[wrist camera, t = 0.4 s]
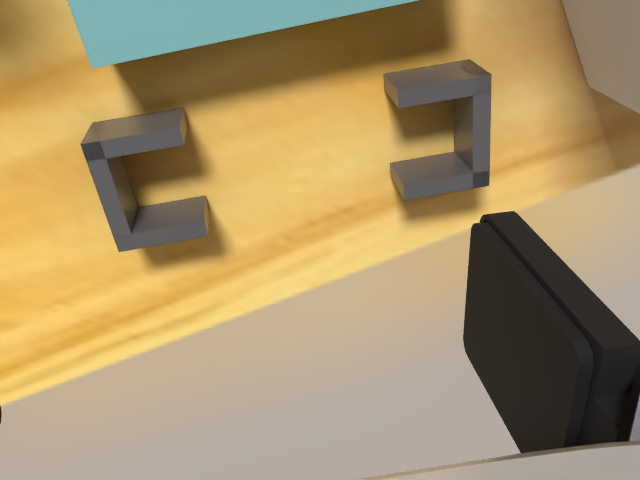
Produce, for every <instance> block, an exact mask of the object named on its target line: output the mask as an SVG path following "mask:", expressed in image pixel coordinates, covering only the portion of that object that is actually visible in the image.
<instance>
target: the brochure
mask: <svg viewBox="0 0 640 480" xmlns="http://www.w3.org/2000/svg"><path fill="white" fill-rule="evenodd" d="M561 1H562V4H563V7H564V10H565V13H566V17H567V20H568V23H569V26H570V29H571V33H572V36H573V39H574V42H575V45H576V48H577V52H578V55H579V58H580V61H581V64H582V68H583V71H584V74H585V77H586V80H587V84H588V86H589V87H591V88H593V89H594V90H596V91H598V92H600V93H602V94H604V95H605V96H607V97H609V98H611V99H613V100H615V101H616V102H618V103H620V104H622V105H624V106H626V107H628V108H629V109H631V110H633V111H635V112H637V113H639V114H640V0H561Z"/></svg>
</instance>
